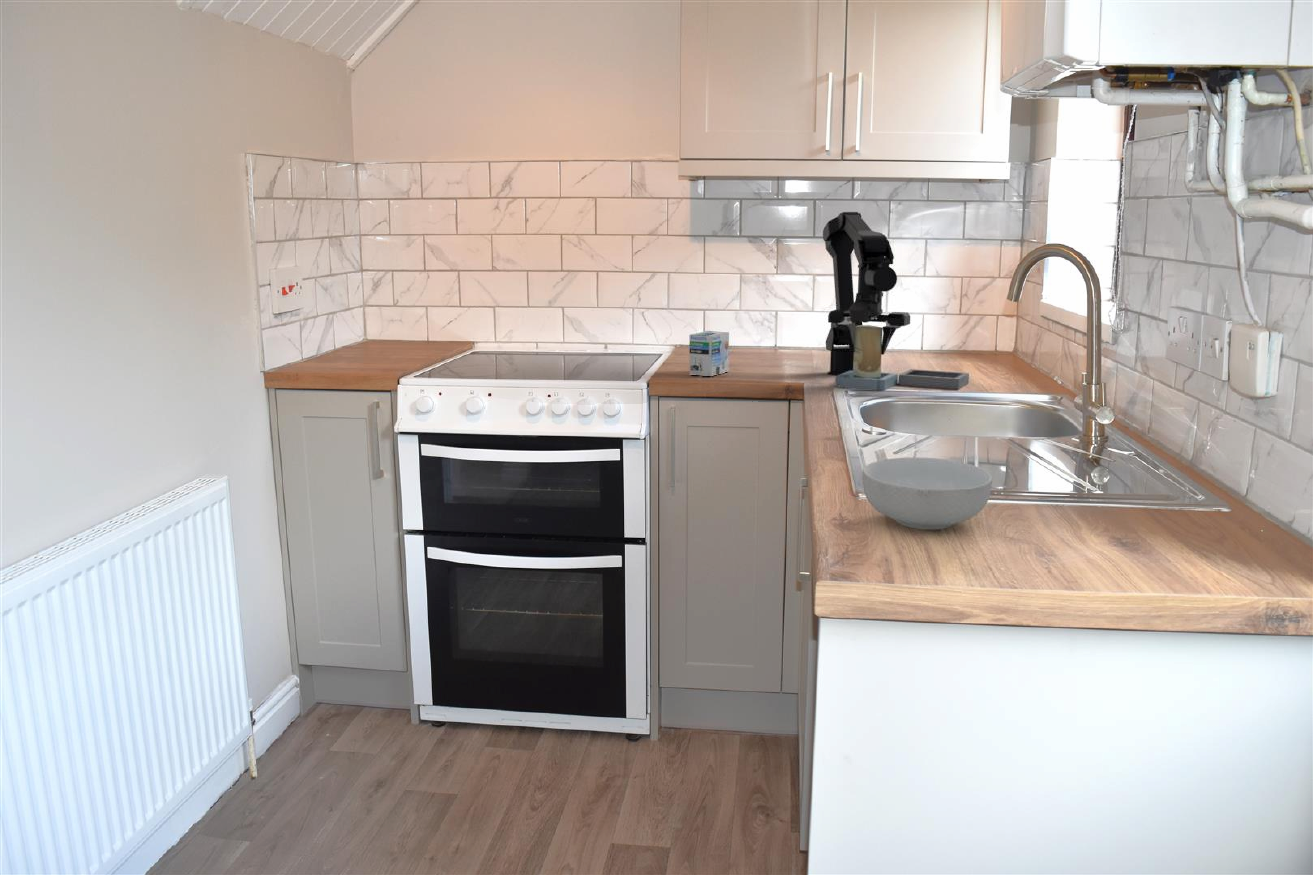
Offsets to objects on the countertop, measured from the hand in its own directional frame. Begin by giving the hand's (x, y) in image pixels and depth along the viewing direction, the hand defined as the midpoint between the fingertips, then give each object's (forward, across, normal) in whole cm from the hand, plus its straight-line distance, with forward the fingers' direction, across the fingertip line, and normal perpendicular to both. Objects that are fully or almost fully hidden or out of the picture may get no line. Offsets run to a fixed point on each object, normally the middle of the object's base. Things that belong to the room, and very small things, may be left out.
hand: (867, 353), depth 251 cm
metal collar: (+8, +14, +9) cm, 18 cm away
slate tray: (+8, 0, 0) cm, 8 cm away
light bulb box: (+8, -42, -1) cm, 43 cm away
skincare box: (+6, 0, 0) cm, 6 cm away
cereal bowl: (+8, +42, -106) cm, 114 cm away
